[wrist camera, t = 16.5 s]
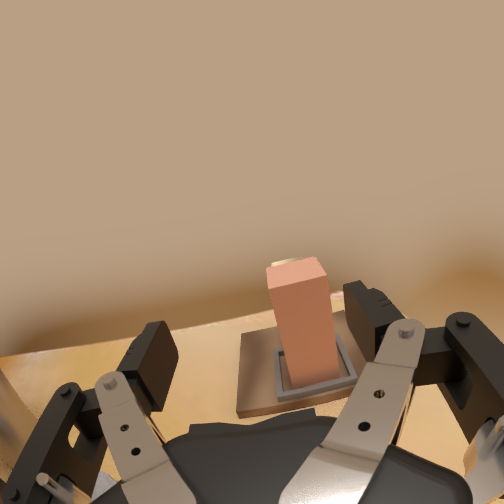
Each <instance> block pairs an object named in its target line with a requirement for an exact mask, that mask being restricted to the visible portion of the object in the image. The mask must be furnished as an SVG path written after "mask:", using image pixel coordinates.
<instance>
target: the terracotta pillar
mask: <svg viewBox="0 0 504 504" xmlns="http://www.w3.org/2000/svg"><path fill="white" fill-rule="evenodd" d="M266 272H267V280H268V289H269V293H270V297H271V301H272V305H273V309H274V313H275V317H276V321H277V325H278V329H279V333H280V337H281V342H282V346H283V350H284V354H285V358H286V362H287V366H288V370H289V374H290V378H291V383H292V387H293V389H295V388H299V387H304V386H308V385H313V384H317V383H321V382H325V381H329V380H333V379H336V378H340V375H339V365H338V355H337V346H336V337H335V329H334V321H333V313H332V306H331V299H330V292H329V286H328V279H327V275H326V273H325V271H324V270H323V268H322V266H321V265H320V263H319V262H318V260H317V259H316V257H315V256H314V257H310V258H306V259H302V260H297V261H293V262H289V263H285V264H281V265H276V266H272V267H268V268H266Z"/></svg>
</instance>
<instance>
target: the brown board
mask: <svg viewBox="0 0 504 504" xmlns="http://www.w3.org/2000/svg"><path fill="white" fill-rule="evenodd" d="M333 321H334V329H335V335H337V334H339V336H340V338H341V341H342V343H343V345H344V347H345V349H346V352H347V354H348V356H349V358H350V361H351V363H352V365H353V368H354V370H355V372H356V374H357V377H358V380H359V378H360V376H361V374H362V372H363V370H364V368H365V366H366V364H367V362H366V360H365V358H364V356H363V354H362V352H361V351H360V349H359V347H358V345H357V343H356V341H355V339H354V337H353V335H352V333H351V331H350V330H349V327H348V325H347V321H346V315H345V311H344V310H342V311H338V312H334V313H333ZM336 346H337V345H336ZM279 348H283V346H282V342H281V337H280V333H279V329H278V326H276V327H272V328H267V329H262V330H257V331H252V332H247V333H242V334H241V347H240V362H239V376H238V392H237V407H236V412H237V414H238V417H239V418H246V417H254V416H260V415H267V414H273V413H278V412H284V411H289V410H294V409H299V408H304V407H308V406H313V405H317V404H321V403H325V402H329V401H333V400H337V399H341V398H344V397H348V396H350V395H351V393H352V391H353V389H354V387H355V385H356V384H353V385H350V386H346V387H343V388H339V389H335V390H331V391H327V392H324V393H319V394H315V395H311V396H307V397H302V398H297V399H293V400H288V401H282V402H279V401H278V398H277V389H276V378H275V367H274V356H273V350H274V349H279ZM337 355H338V365H339V375H340V378H344V377H348V376H349V375H348V372H347V370H346V367H345V365H344V362H343V360H342V357H341V355H340V353H339V350H338V348H337ZM279 358H280V366H281V374H282V383H283V391H284V392H285V391H290V390H295V389H300V388H304V387H309V386H313V385H317V384H321V383H325V382H329V381H333V380H337V379H340V378H336V379H333V380H329V381H325V382H321V383H317V384H313V385H308V386H304V387H299V388H295V389H293V387H292V383H291V378H290V374H289V370H288V366H287V362H286V358H285V356H280V357H279Z"/></svg>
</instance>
